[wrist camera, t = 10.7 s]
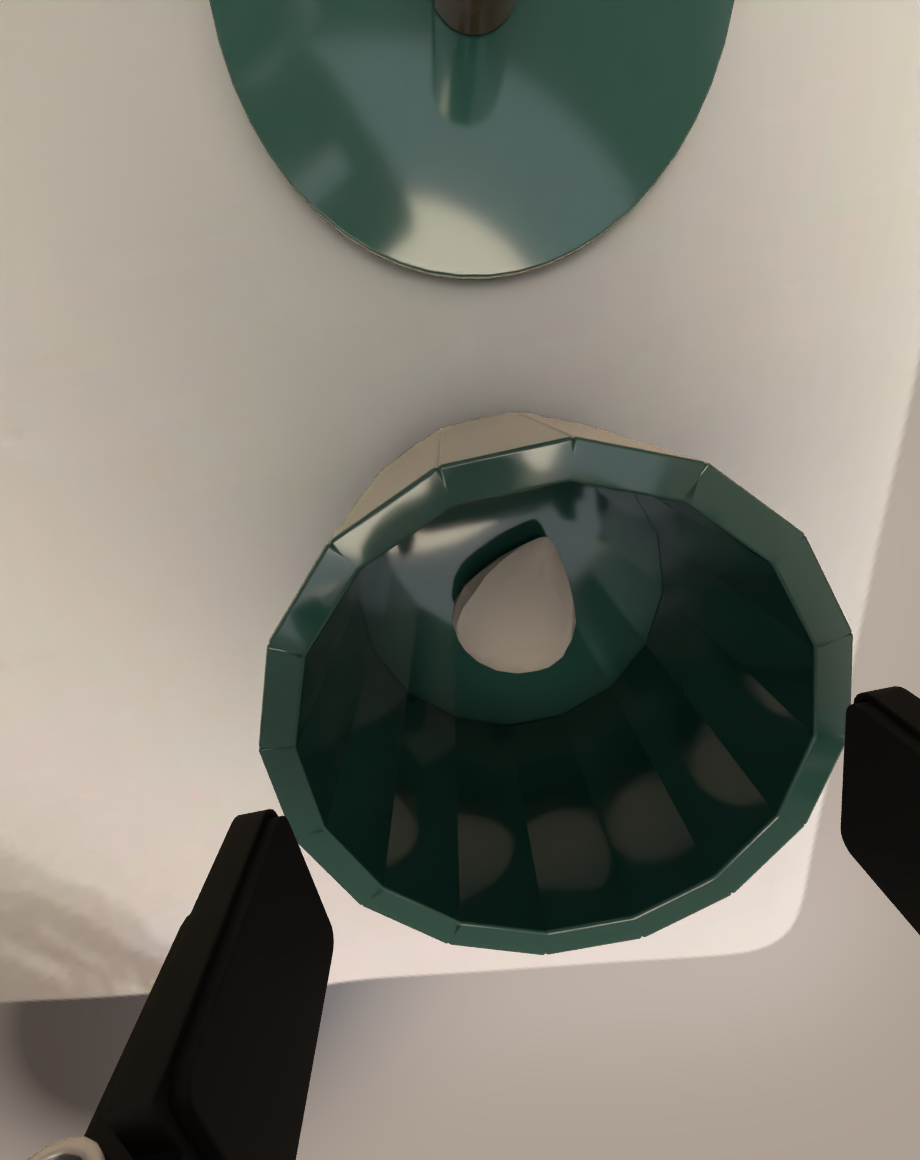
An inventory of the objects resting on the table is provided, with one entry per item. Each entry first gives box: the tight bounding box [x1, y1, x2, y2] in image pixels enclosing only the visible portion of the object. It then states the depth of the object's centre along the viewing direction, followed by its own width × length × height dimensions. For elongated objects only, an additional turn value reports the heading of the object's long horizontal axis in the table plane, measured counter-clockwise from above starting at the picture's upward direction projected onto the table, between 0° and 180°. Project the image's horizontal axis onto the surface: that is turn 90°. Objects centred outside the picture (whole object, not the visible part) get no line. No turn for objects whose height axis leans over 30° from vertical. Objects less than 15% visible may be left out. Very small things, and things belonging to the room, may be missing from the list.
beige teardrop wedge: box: [452, 537, 576, 674], centre depth 19 cm, size 4×5×2 cm
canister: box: [259, 412, 853, 955], centre depth 17 cm, size 13×13×10 cm
